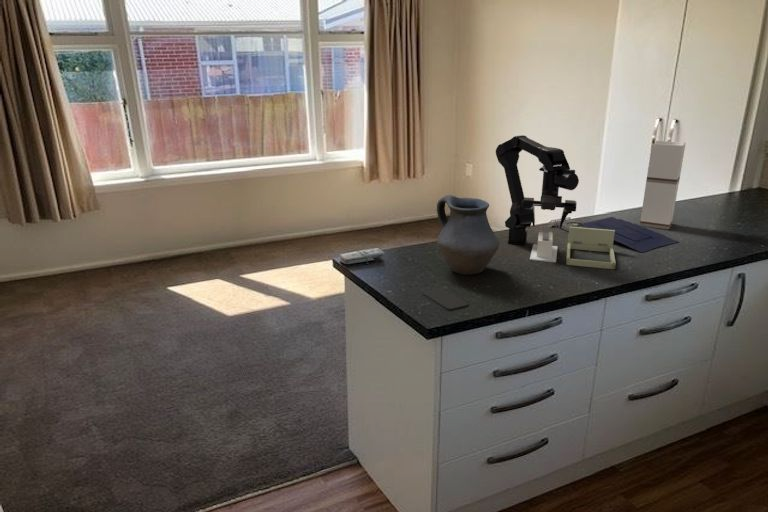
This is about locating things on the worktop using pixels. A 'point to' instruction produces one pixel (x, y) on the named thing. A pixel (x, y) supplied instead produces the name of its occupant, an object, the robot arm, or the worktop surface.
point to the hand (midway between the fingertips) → (546, 227)
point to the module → (545, 244)
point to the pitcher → (466, 234)
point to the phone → (445, 299)
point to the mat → (535, 258)
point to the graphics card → (566, 224)
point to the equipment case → (591, 245)
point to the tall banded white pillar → (662, 184)
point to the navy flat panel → (631, 234)
